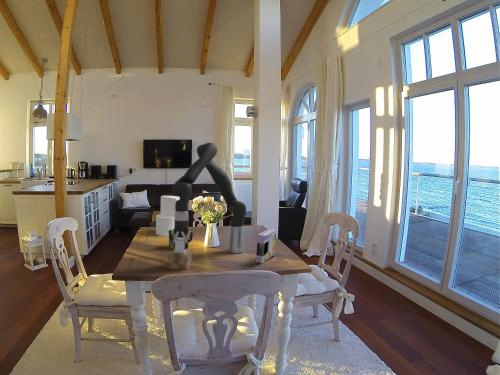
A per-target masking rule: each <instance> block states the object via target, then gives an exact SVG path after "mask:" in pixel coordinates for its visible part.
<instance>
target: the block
mask: <svg viewBox="0 0 500 375" xmlns="http://www.w3.org/2000/svg"><path fill="white" fill-rule="evenodd" d="M185 243H186V242H185V240H184V238H177V239H176V240H175V253H185V252H186V250H187V249H186V250H185Z"/></svg>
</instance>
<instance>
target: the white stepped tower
mask: <svg viewBox="0 0 500 375" xmlns="http://www.w3.org/2000/svg"><path fill="white" fill-rule="evenodd" d="M177 200H181V198H180V196H178V195H161V196H160V213H158V214H156V215H155V234H156V235H157V236H160V237H169V230H172V229H174V220H175V219H174V217H175V203H176V201H177Z"/></svg>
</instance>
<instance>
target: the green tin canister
mask: <svg viewBox="0 0 500 375" xmlns="http://www.w3.org/2000/svg"><path fill="white" fill-rule="evenodd" d="M172 230H174V229H172ZM175 235H176V234H175V233H174V232H173V238H175ZM178 238H183V237H178ZM173 244H174V242H173V241H170V237H169V236H168V249H170V250H172V249H173V250H174V247H173Z"/></svg>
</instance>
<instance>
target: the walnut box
mask: <svg viewBox="0 0 500 375" xmlns="http://www.w3.org/2000/svg"><path fill="white" fill-rule="evenodd" d="M192 251H193V250H192V249H186V252H185V253H175V249H173V250H172V251H170V252H169V254H168V269H169V268H170V269H172V270H184V271H185V270H186V271H187V270H188V268H189V267H190V266H191V265H192V256H193V255H192V254H193V253H192Z"/></svg>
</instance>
